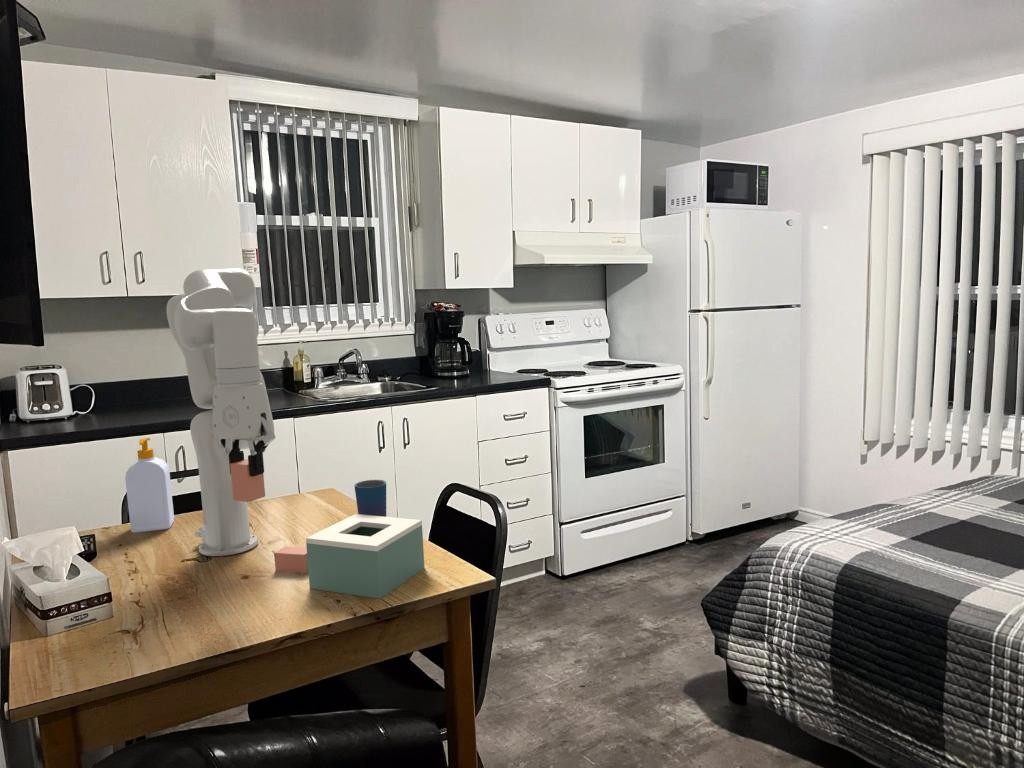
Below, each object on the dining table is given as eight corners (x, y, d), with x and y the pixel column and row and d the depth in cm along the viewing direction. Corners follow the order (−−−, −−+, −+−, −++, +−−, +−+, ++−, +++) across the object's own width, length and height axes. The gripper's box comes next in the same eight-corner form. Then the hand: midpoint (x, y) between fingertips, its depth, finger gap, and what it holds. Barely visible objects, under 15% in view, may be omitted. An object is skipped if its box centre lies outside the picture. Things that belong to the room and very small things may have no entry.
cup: (383, 556, 157) (379, 487, 155) (353, 555, 158) (349, 487, 156) (395, 545, 163) (390, 479, 162) (366, 544, 165) (361, 479, 163)
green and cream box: (309, 588, 141) (305, 538, 140) (358, 559, 155) (355, 513, 154) (380, 598, 134) (376, 546, 133) (424, 567, 149) (421, 520, 148)
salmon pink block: (233, 500, 137) (230, 463, 136) (249, 494, 140) (245, 459, 140) (249, 502, 135) (246, 464, 134) (265, 496, 139) (262, 460, 138)
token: (275, 571, 151) (274, 552, 151) (286, 564, 155) (284, 546, 155) (305, 573, 149) (304, 554, 149) (316, 566, 153) (314, 548, 153)
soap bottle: (130, 534, 180) (120, 442, 178) (136, 526, 187) (126, 437, 184) (170, 529, 183) (160, 439, 180) (174, 521, 190) (165, 434, 187)
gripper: (189, 379, 135) (198, 476, 137) (259, 379, 128) (268, 481, 131) (220, 374, 142) (228, 467, 144) (288, 374, 135) (296, 472, 137)
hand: (247, 473), depth 137 cm, fingers closed on salmon pink block, 4 cm apart
